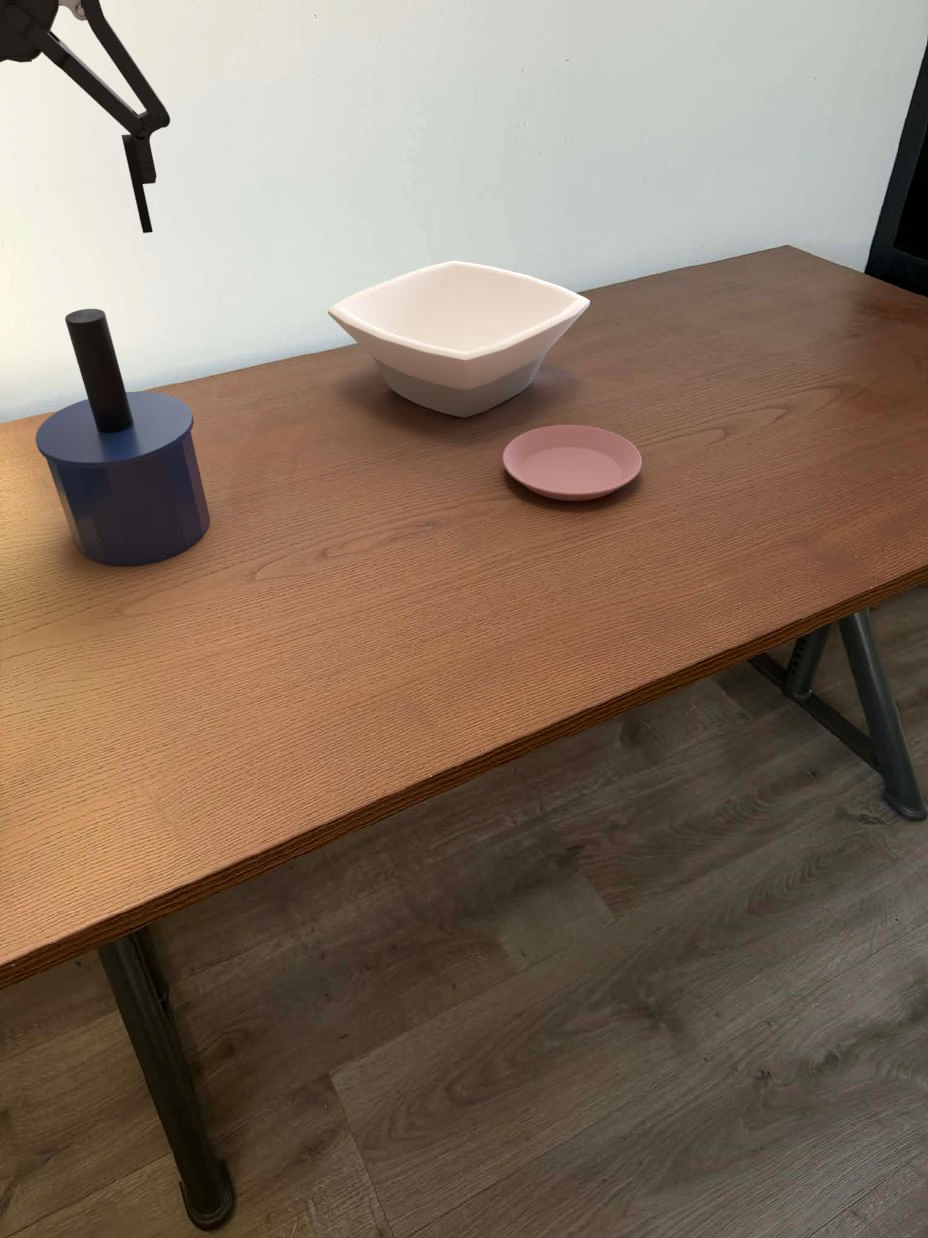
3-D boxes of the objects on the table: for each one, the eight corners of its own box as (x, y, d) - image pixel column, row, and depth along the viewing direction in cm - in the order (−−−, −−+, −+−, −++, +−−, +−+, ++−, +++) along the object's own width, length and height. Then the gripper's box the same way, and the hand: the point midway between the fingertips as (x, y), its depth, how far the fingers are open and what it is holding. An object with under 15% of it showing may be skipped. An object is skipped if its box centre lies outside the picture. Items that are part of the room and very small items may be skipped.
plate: (612, 524, 90) (614, 506, 89) (479, 491, 95) (479, 474, 94) (657, 457, 100) (660, 440, 99) (534, 430, 105) (535, 414, 104)
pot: (77, 577, 85) (42, 477, 78) (75, 507, 94) (43, 412, 87) (217, 550, 88) (195, 451, 81) (201, 485, 97) (180, 390, 90)
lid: (38, 486, 78) (-7, 359, 71) (40, 416, 88) (1, 298, 81) (203, 458, 81) (176, 333, 74) (187, 393, 91) (161, 278, 84)
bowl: (317, 392, 113) (307, 309, 107) (457, 330, 128) (455, 253, 121) (465, 456, 101) (464, 366, 94) (602, 379, 115) (608, 296, 108)
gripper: (158, -112, 66) (212, 207, 79) (-245, -104, 59) (-112, 241, 73) (167, -110, 60) (224, 233, 73) (-276, -102, 54) (-126, 271, 67)
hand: (57, 237), depth 73 cm, fingers open, 13 cm apart
